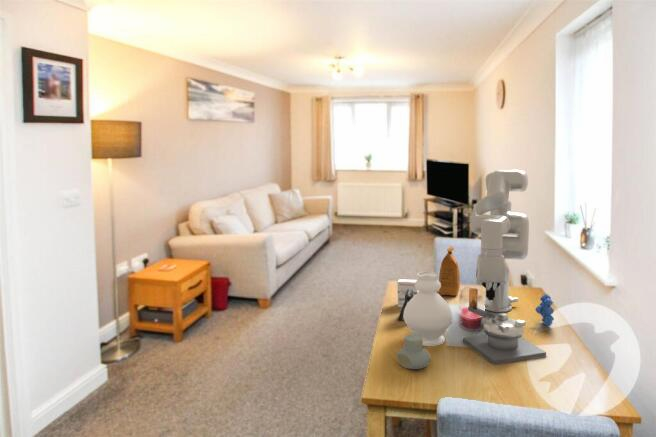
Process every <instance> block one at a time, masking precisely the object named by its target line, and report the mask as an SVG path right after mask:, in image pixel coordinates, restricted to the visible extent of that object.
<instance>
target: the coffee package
mask: <svg viewBox="0 0 656 437" xmlns="http://www.w3.org/2000/svg"><path fill="white" fill-rule="evenodd" d="M446 250H447V253H446V255H445V256H444V257H443V259H442V261H441V263H440V264H441V265H440V268H439V274H438V281H439V282H440V283H441V288H440V289H439V290H438V294H439V295H440V296H458V295H459V291H460V284H461V281H460V280H461V275H460V273H461V272H460V268H459V267H460V265H459V264H458V261H457V259H456V258H455V257H454V254H453V251H454V250H455V247H454V246H453V245H452V246H449V247H448V248H447V249H446Z"/></svg>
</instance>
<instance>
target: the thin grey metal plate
mask: <svg viewBox="0 0 656 437" xmlns="http://www.w3.org/2000/svg"><path fill="white" fill-rule="evenodd" d="M462 342H463V343H464V344H465V345H467V346H468V347H469V348H470V349H472V350H473V351H475V352H476V353H477V354H478V355H480V356H481V357H483V358H484V359H485V360H487V361H488V362H489V363H491V365H493V366H495V365H496V366H497V365H501V364H502V365H503V364H508V363H513V362H515V363H516V362H520V361H526V360H532V359H537V358H543V357H544V358H545V357H547V352H546V350H545V351H544V350H543V349H542V348H540V347H538V346H537V345H536V344H534V343H531V342H530V341H528V340H527V339H525V338H523V336H522V337H520V338H518V339H512V340H504V339H497V338H493V337H490V336H488V335H487V334H485V333H484V334H475V335H470V336H464V337H462Z"/></svg>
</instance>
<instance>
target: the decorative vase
mask: <svg viewBox="0 0 656 437" xmlns="http://www.w3.org/2000/svg"><path fill="white" fill-rule="evenodd" d="M416 276H417V278H418V279H416V280H417V281H416V282H415V288H416V289H417V290H418V293H417V294H416V295H415V296H414V297H413V298H412V299H411V300H410V301H409V302H408V304H407V305H406V307H405V309H404V314H403V317H404V321H405V322H404V321H403V322H404V323H405V325H406V326H407V327H408V329H409V330H410V332H411V333H412V334H417V335H420V336H421V337H422V347H423V346H424V347H436V346H440V345H442V344H444V343H445V341H446V337H445V336H444V333H446V331H447V330H449V328H450V326H451V324H452V323H453V311H452V309H451V307H450V305H449V304H448V303H447V301H446V300H445V299H444V298H443V297H442V295H440V294H439V289H440V288H441V283H440V282H439V274H438V272H435V271H420V272H418V273H417V274H416Z"/></svg>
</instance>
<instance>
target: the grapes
mask: <svg viewBox="0 0 656 437" xmlns="http://www.w3.org/2000/svg"><path fill="white" fill-rule="evenodd" d="M540 301H541V302H540V303H539V305H537V306H536V307H535V309H534V311H535V312H536V313H537V314H539V315H540V316H541V317H542V318H541V321H542V323H543V324H544V325H545V326H546V327H548V328H549V327H551V326H552V325H553V321H554V320H555V318H554V317H553V313H554V312H555V310H554V308H553V307H552V305H553V304H554V302H553V301H552V297H551V296H550V295H549V294H548V293H544V294H543V295H542V296H541V297H540Z"/></svg>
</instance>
